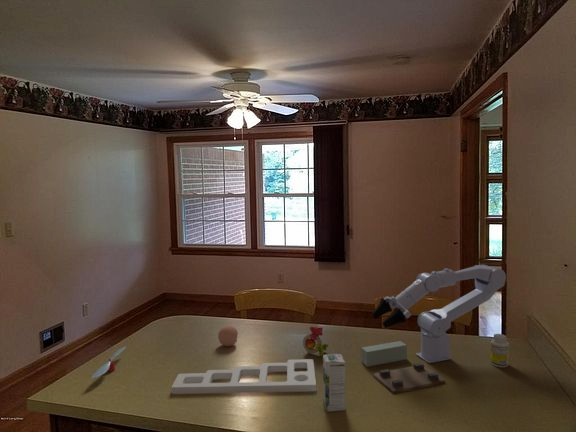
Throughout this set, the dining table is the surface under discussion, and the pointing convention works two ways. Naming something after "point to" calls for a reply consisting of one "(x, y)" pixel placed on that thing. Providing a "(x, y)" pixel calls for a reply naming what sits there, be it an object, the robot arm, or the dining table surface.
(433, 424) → the dining table surface
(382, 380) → the cradle board
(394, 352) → the block
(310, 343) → the bird rattle
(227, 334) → the toy ball
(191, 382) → the holder
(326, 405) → the syrup box
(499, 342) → the supplement bottle
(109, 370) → the propeller
